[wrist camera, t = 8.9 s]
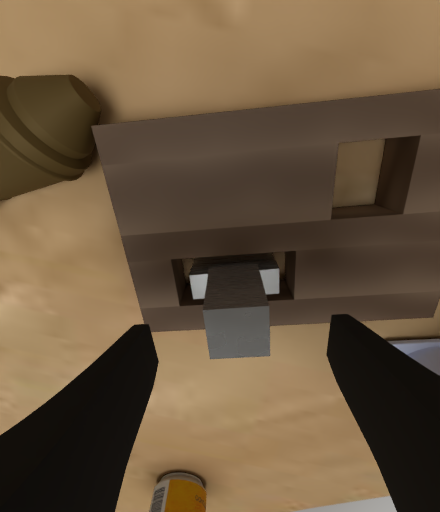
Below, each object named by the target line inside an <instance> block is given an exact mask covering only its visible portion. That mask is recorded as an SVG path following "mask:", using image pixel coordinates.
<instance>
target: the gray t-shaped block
mask: <svg viewBox="0 0 440 512" xmlns="http://www.w3.org/2000/svg"><path fill="white" fill-rule="evenodd" d="M189 277H190V283H191V289H192V295H193V299H204V304H203V316H204V323H205V329H206V336H207V342H208V349H209V355H210V359H222V358H241V357H261V356H270V324H269V304H268V300H267V296H266V294H279V267H278V265H277V263H276V260H275V258H274V256H273V254H272V252H270V253H256V254H242V255H227V256H213V257H199V258H194V262H193V265H192V268H191V271H190V275H189Z"/></svg>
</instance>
